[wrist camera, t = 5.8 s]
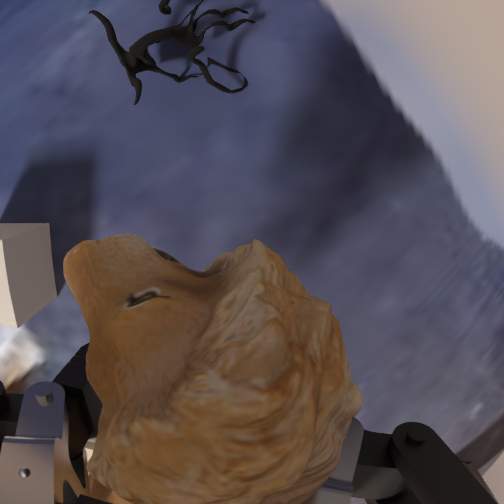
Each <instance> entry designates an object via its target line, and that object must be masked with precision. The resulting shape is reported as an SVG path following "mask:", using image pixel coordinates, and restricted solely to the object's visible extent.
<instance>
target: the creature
mask: <svg viewBox="0 0 504 504" xmlns="http://www.w3.org/2000/svg"><path fill="white" fill-rule="evenodd" d="M169 1H170V0H161V2H160V4H159V9H160V12H161V13H163V14H171V8H170V7H169V6H168V3H169ZM202 2H203V0H202V1H201V2H200V3H199V4H198V5H196V7H195V8H194V9H193V10H192V11H191V12H190V13H189V14H188V15H187V16H186V17H185V18H184V20H183V21H182V22H181V23H180V24H179V25H176V26H173V27H169V28H165V29H160V30H157V31H154V32H151V33H148V34H146V35H145V36H143V37H142V38H140V39H139V40H138V41H136V42H135V43H134V44H133V45H132V46H131V47H130V50H129V52H127V51H125V50H124V49H123V48H122V47H121V46H120V44H119V43H118V41H117V38H116V35H115V31H114V28H113V26H112V24H111V23H110V21H109V20H108V19H107V18H106V17H105V16H103V15H102V14H101V13H99V12H98V11H95V10H92V11H90V12H89V14H90V13H92V14H94V15H95V16H96V17H97V18H99V20H100V21H101V22H102V24H103V25H104V26H105V28H106V32H107V36H108V40H109V42H110V43H111V45H112V47H113V48H114V50H115V52H116V53H117V55H118V57H119V59H120V62H121V64H122V65H123V67H125V68H126V71H127V74H128V77H129V80H130V82H131V85H132V86H134V87H135V90H136V99H135V103H134V105H136V104H137V103H138V101H139V99H140V96H141V90H142V82H141V80H140V79H138V78H136V75H135V74H136V73H139V72H142V71H146V70H150V71H153V72H158V73H161V74H164V75H167V76H169V77H171V78H173V79H174V80H175V81H177V82H178V83H179V82H183V81H185V80H187V79H188V78H190V77H198V76H187V77H184V78H179V77H178V76H177V75H175V74H170V73H167V72H165V71H163V70H161V69H160V68H158V67H157V66H156V62H155V61H154V59H153V58H152V57H151V56H150V54H149V53H148V46H149V45H151V44H153V43H159V42H160V41H161V40H170V39H171V40H172V41H174V42H176V43H178V44H179V45H180V46H183V47H186V48H192V49H191V50H189V51H188V52H187V57H188V59H189V60H190V61H191V62H193V63H194V64H197V65H198V66H199V67H200V69H201V71H202V74H203V75H204V77H205V79H206V81H207V82H208V83H209V84H211V85H212V86H214V87H216V88H217V89H219V90H221V91H223V92H227V93H236V92H240V91H242V90H243V89H244V88H245V86H246V84H247V79H246V78H245V77H244V85H243V87H242V88H239V89H236V90H232V91H231V90H230V89H228V88H226V87H224V86H223V85H221V84H219V83H217V82H215V81H214V80H213V79H212V77H211V76H210V74H209V72H208V69H207V68H206V66H205V64H204V63H203V62H201V61H200V60H198V59H195V56H196V55H198V54H199V53H201V52H202V51H203V50H204V47H203V46H198V45H199V44H200V43H201V42H202V40H203V38H204V33H205V31H206V30H207V29H209V28H210V27H211V26H216V25H221V26H224V27H225V28H226V29H227V30H228V31H232V30H234V29H236V28H237V27H238V26H240V25H241V24H242V23H244V22H247V21H248V22H251V23H255V22H254V21H253V20H249V19H241V20H238V21H236V22H234V23H232V24H228V23H227V22H225V21H218V22H214V23H213V24H211V25H210V26H208V27H207V28H206V29H205V30H204V31H203V32H202V33H201V34H200V36H198V37H197V36H195V35H194V31H195V30H196V25H197V21H198V19H199V18H200V17H202V16H203V15H206V14H209V13H210V14H215V15H217V16H218V17H220V18H224V17H226V16H228V15H230V14H232V13H234V12H235V11H241V12H243V13H246V14H248V12H247V11H245V10H242V9H239V8H232V9H228V10H225V11H223V12H220V11H218V10H216V9H212V10H208V11H206V12H204V13H203V14H202V15H200V16H199V17H198V18H197V19H195V21H194V22H193V21H192V16H193V14H194V16H195V13H196V11H197V9H198V7H199V5H200V4H201V3H202ZM194 12H195V13H194ZM190 14H191V17H190V22H189V25H188V26H185V27H180V26H181V25H182V23H183V22H184V21H185V19H186V18H187V17H188V16H189V15H190ZM193 19H194V18H193ZM191 22H192V24H191ZM177 27H180V28H177ZM175 28H177V29H175ZM210 64H215V65H218V66H220V67H222V68H225V69H227V70H229V71H233V72H236V73H240V72H238V71H236V70H233V69H230V68H227V67H224V66H221V65H220V64H218V63H216V62H214V61H212V60H211V59H210V58H208V65H207V67H208V66H209V65H210ZM240 74H241V73H240ZM200 75H201V74H200ZM200 75H199V76H200ZM241 75H242V74H241ZM242 76H243V75H242Z"/></svg>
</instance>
